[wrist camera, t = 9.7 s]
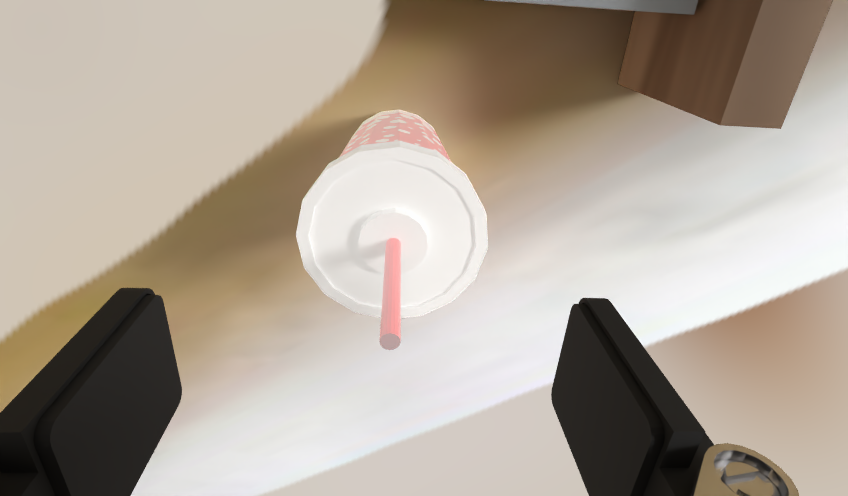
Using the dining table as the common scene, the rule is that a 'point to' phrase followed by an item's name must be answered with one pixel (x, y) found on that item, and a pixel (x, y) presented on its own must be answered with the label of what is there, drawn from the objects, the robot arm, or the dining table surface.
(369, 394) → the dining table surface
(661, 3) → the socket block
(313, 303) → the dining table surface
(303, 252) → the beverage cup
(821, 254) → the dining table surface
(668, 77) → the walnut wall
